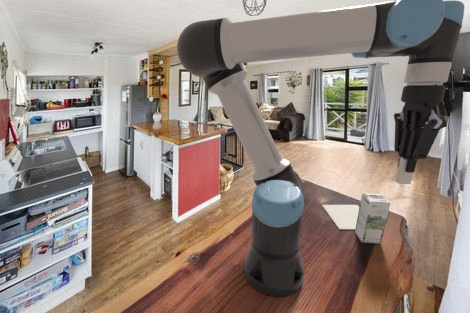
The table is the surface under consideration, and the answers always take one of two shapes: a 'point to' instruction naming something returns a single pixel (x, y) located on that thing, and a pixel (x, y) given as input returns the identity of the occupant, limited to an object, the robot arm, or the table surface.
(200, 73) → the robot arm
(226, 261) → the table surface
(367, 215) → the syrup box
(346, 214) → the mat
